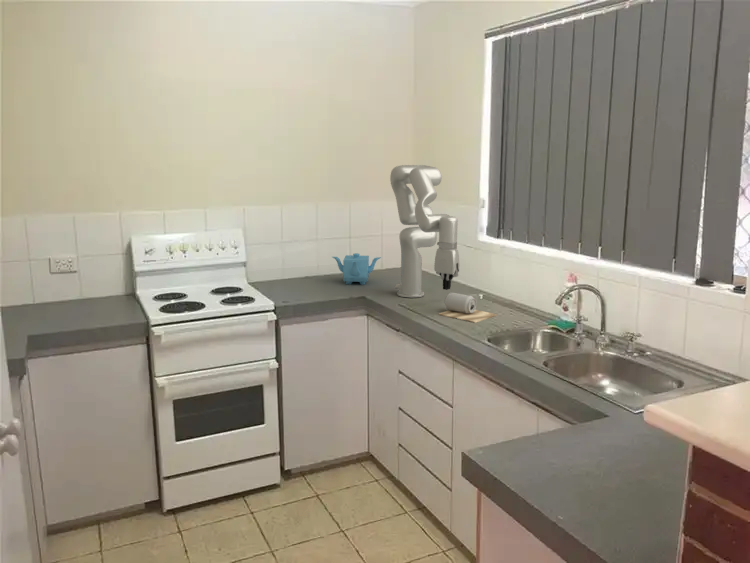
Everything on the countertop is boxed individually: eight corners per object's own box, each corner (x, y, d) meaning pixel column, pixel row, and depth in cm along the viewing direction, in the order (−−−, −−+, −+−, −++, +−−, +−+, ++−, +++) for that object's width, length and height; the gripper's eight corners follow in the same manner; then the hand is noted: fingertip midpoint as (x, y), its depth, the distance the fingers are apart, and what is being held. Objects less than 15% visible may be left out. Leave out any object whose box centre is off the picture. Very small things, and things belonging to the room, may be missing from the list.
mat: (438, 314, 278) (438, 313, 278) (460, 307, 290) (460, 306, 290) (475, 322, 266) (475, 321, 266) (496, 315, 278) (496, 314, 278)
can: (445, 313, 284) (470, 318, 276) (442, 298, 280) (467, 303, 273) (454, 303, 288) (479, 307, 281) (451, 288, 284) (476, 293, 277)
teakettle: (357, 277, 352) (357, 249, 349) (382, 282, 339) (382, 254, 336) (329, 282, 339) (329, 253, 336) (354, 288, 326) (354, 258, 323)
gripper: (428, 245, 282) (427, 287, 285) (457, 249, 272) (455, 293, 276) (438, 243, 287) (437, 285, 291) (467, 247, 277) (466, 290, 281)
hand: (446, 289), depth 283 cm, fingers closed
